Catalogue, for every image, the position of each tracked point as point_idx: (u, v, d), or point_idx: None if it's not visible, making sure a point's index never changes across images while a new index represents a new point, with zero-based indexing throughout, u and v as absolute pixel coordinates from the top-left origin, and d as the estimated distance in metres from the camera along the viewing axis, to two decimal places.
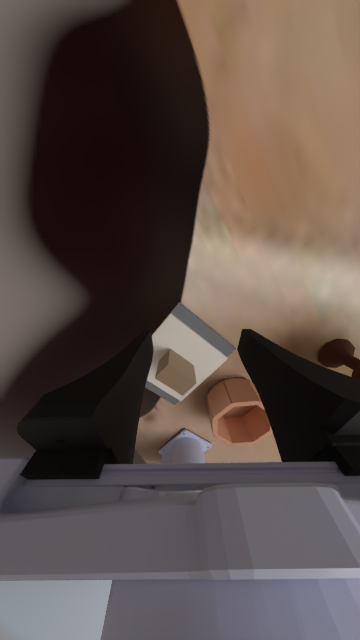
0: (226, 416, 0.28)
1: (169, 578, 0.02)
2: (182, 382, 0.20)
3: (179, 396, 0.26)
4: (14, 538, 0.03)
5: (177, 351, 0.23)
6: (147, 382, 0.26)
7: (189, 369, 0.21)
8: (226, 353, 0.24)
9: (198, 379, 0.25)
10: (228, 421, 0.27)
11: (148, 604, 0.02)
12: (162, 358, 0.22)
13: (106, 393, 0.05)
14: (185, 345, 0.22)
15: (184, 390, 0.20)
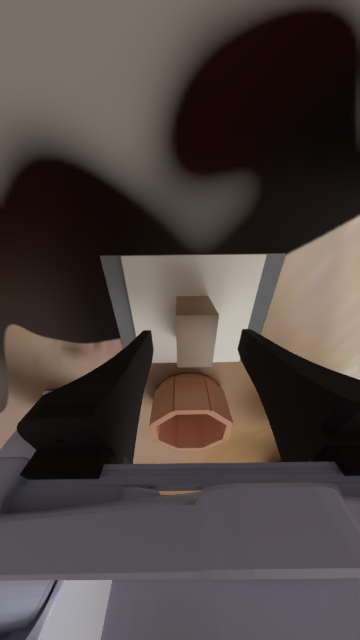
0: None
1: (169, 578, 0.02)
2: (199, 353, 0.11)
3: None
4: (14, 538, 0.03)
5: None
6: (124, 308, 0.15)
7: None
8: None
9: None
10: None
11: (148, 604, 0.02)
12: (188, 298, 0.13)
13: (106, 393, 0.05)
14: (226, 310, 0.14)
15: (188, 363, 0.12)
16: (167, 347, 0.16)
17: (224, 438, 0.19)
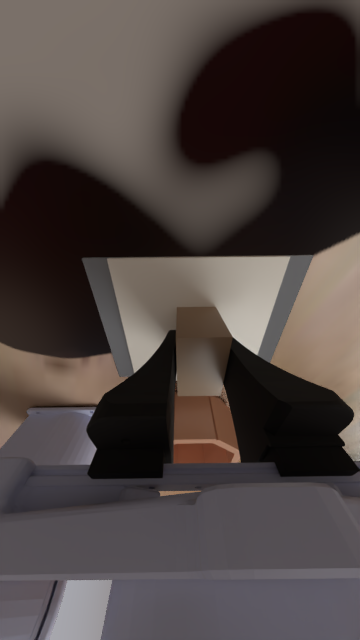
0: None
1: (169, 578, 0.02)
2: (205, 380, 0.09)
3: None
4: (14, 538, 0.03)
5: None
6: (114, 319, 0.12)
7: None
8: None
9: None
10: None
11: (148, 605, 0.02)
12: (191, 310, 0.10)
13: (167, 392, 0.05)
14: (236, 323, 0.12)
15: (191, 392, 0.10)
16: None
17: None
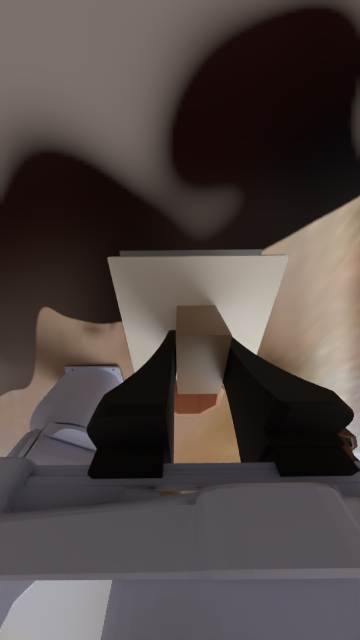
0: None
1: (169, 578, 0.02)
2: (205, 378, 0.09)
3: None
4: (14, 538, 0.03)
5: None
6: None
7: None
8: None
9: None
10: None
11: (147, 605, 0.02)
12: (191, 309, 0.10)
13: (166, 392, 0.05)
14: (236, 322, 0.12)
15: (191, 390, 0.10)
16: None
17: (216, 404, 0.22)
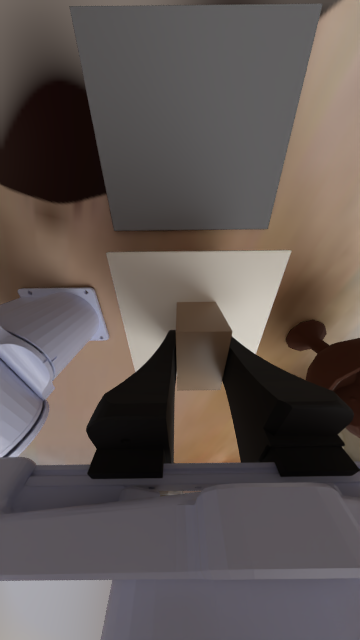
0: None
1: (169, 578, 0.02)
2: (205, 374, 0.09)
3: None
4: (14, 538, 0.03)
5: None
6: (107, 125, 0.11)
7: None
8: (253, 223, 0.15)
9: None
10: None
11: (148, 605, 0.02)
12: (191, 305, 0.10)
13: (167, 392, 0.05)
14: (236, 318, 0.12)
15: (191, 386, 0.10)
16: None
17: None
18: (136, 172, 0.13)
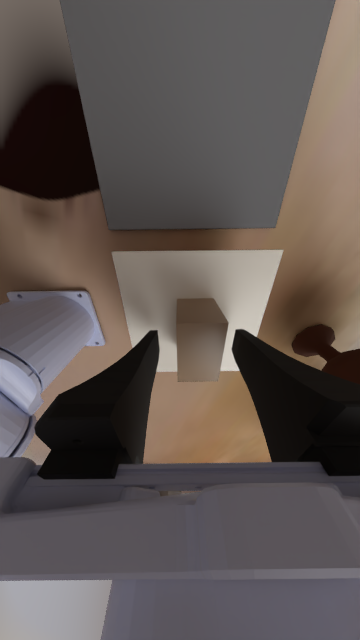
0: None
1: (169, 578, 0.02)
2: (204, 365, 0.10)
3: None
4: (14, 538, 0.03)
5: None
6: (99, 112, 0.10)
7: None
8: (259, 221, 0.13)
9: None
10: None
11: (148, 604, 0.02)
12: (191, 301, 0.11)
13: (121, 393, 0.05)
14: (234, 314, 0.12)
15: (190, 377, 0.10)
16: (166, 355, 0.15)
17: None
18: (132, 165, 0.12)
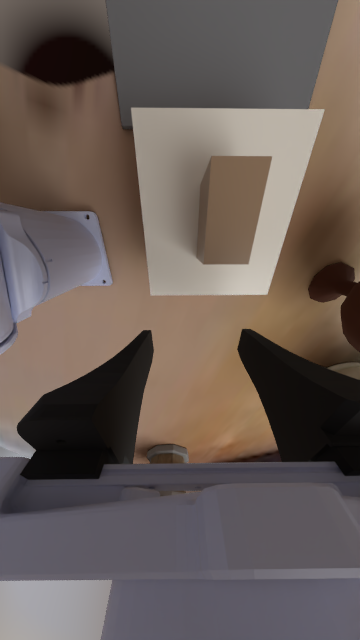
0: None
1: (169, 578, 0.02)
2: (235, 236, 0.09)
3: (156, 285, 0.14)
4: (14, 538, 0.03)
5: None
6: None
7: None
8: None
9: (207, 286, 0.14)
10: None
11: (147, 604, 0.02)
12: None
13: (106, 393, 0.05)
14: (261, 210, 0.11)
15: (218, 256, 0.09)
16: (183, 270, 0.13)
17: None
18: (151, 33, 0.10)
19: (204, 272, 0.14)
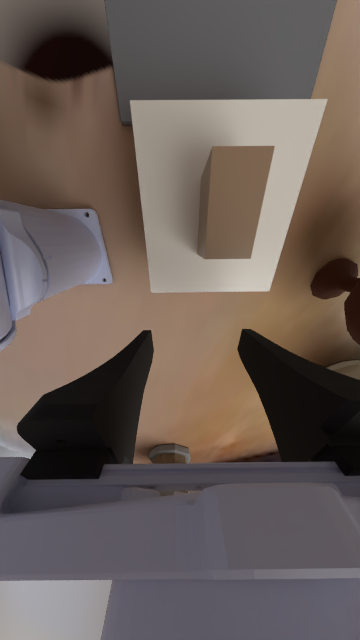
0: None
1: (169, 578, 0.02)
2: (237, 229, 0.08)
3: (157, 282, 0.14)
4: (14, 538, 0.03)
5: None
6: None
7: None
8: None
9: (209, 283, 0.14)
10: None
11: (148, 604, 0.02)
12: None
13: (106, 393, 0.05)
14: (262, 204, 0.11)
15: (220, 251, 0.09)
16: (184, 267, 0.13)
17: None
18: (150, 26, 0.10)
19: (205, 268, 0.13)
